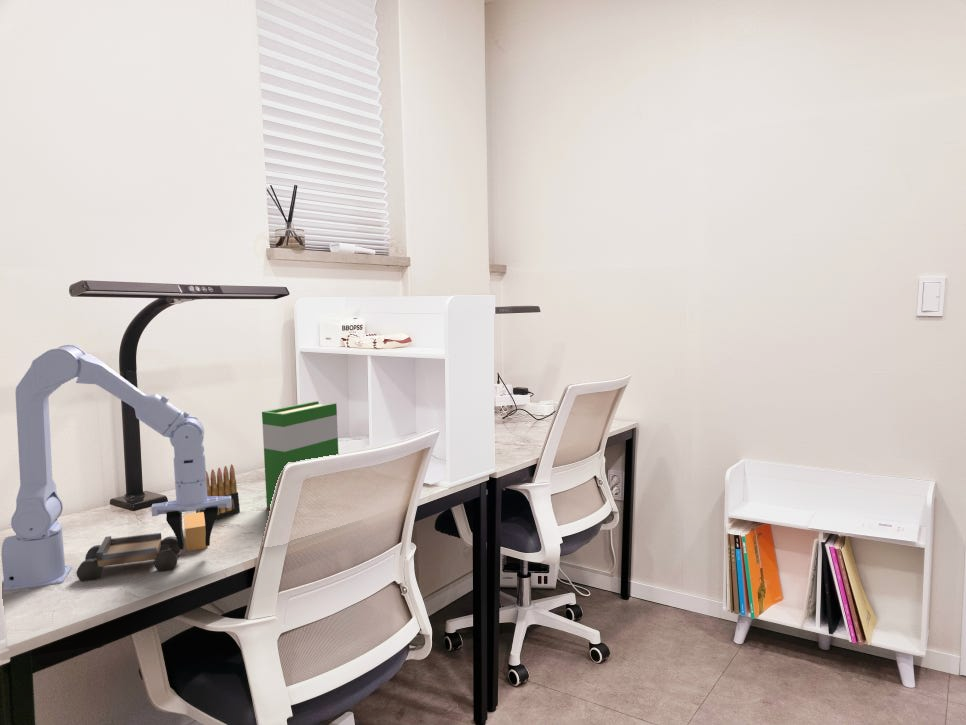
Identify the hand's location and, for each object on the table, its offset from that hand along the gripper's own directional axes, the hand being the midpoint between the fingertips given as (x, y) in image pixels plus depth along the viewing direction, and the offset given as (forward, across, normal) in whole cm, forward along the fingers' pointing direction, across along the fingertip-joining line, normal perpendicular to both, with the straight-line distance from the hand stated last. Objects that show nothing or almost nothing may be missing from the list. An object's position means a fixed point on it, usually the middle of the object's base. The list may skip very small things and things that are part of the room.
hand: (195, 546), depth 140 cm
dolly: (+3, -12, 0) cm, 12 cm away
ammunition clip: (+3, +4, +26) cm, 26 cm away
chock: (+3, -1, +11) cm, 11 cm away
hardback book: (+3, +24, +32) cm, 40 cm away
